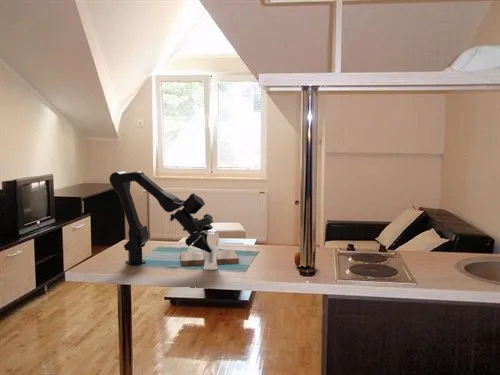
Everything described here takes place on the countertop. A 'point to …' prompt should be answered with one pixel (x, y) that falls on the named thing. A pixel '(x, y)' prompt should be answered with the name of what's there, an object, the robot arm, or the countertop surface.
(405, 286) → the countertop surface
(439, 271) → the countertop surface
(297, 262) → the fruit
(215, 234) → the beer glass
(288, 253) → the countertop surface
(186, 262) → the walnut board
